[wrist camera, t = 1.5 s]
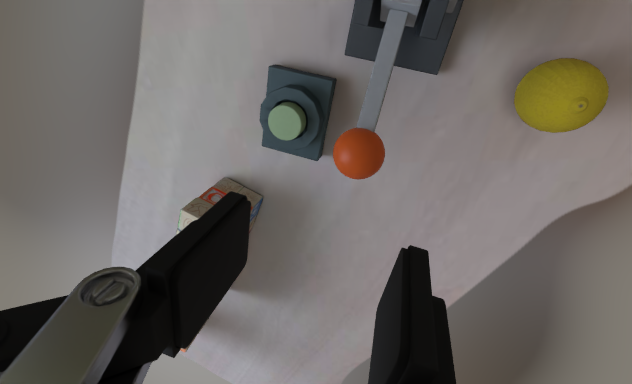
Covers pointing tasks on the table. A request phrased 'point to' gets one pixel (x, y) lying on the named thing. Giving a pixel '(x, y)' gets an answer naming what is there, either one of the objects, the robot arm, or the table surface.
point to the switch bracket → (405, 34)
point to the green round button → (287, 121)
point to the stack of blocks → (211, 198)
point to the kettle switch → (375, 96)
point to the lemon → (561, 95)
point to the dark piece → (313, 100)
